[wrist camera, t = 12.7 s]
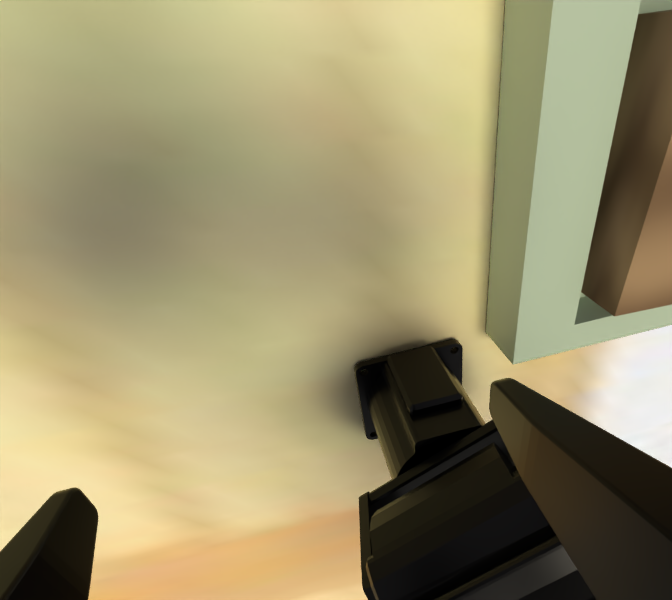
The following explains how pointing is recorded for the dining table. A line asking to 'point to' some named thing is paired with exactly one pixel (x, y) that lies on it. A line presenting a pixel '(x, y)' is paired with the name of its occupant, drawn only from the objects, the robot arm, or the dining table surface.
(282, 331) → the dining table surface
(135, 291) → the dining table surface
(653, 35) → the walnut peg
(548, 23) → the sage cradle
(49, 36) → the dining table surface
